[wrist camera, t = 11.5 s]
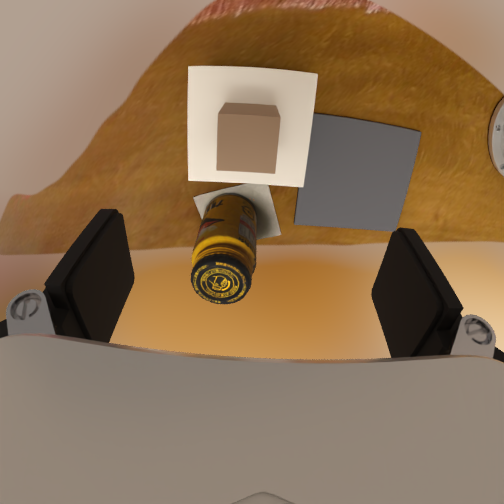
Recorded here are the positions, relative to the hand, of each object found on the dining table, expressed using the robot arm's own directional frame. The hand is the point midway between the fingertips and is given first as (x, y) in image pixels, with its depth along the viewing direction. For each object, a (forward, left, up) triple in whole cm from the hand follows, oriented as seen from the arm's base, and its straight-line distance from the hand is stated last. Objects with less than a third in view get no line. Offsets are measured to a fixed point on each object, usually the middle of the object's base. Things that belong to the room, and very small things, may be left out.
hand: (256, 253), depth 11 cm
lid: (+1, 0, -18) cm, 18 cm away
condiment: (+2, +12, -24) cm, 26 cm away
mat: (-11, +6, -23) cm, 27 cm away
